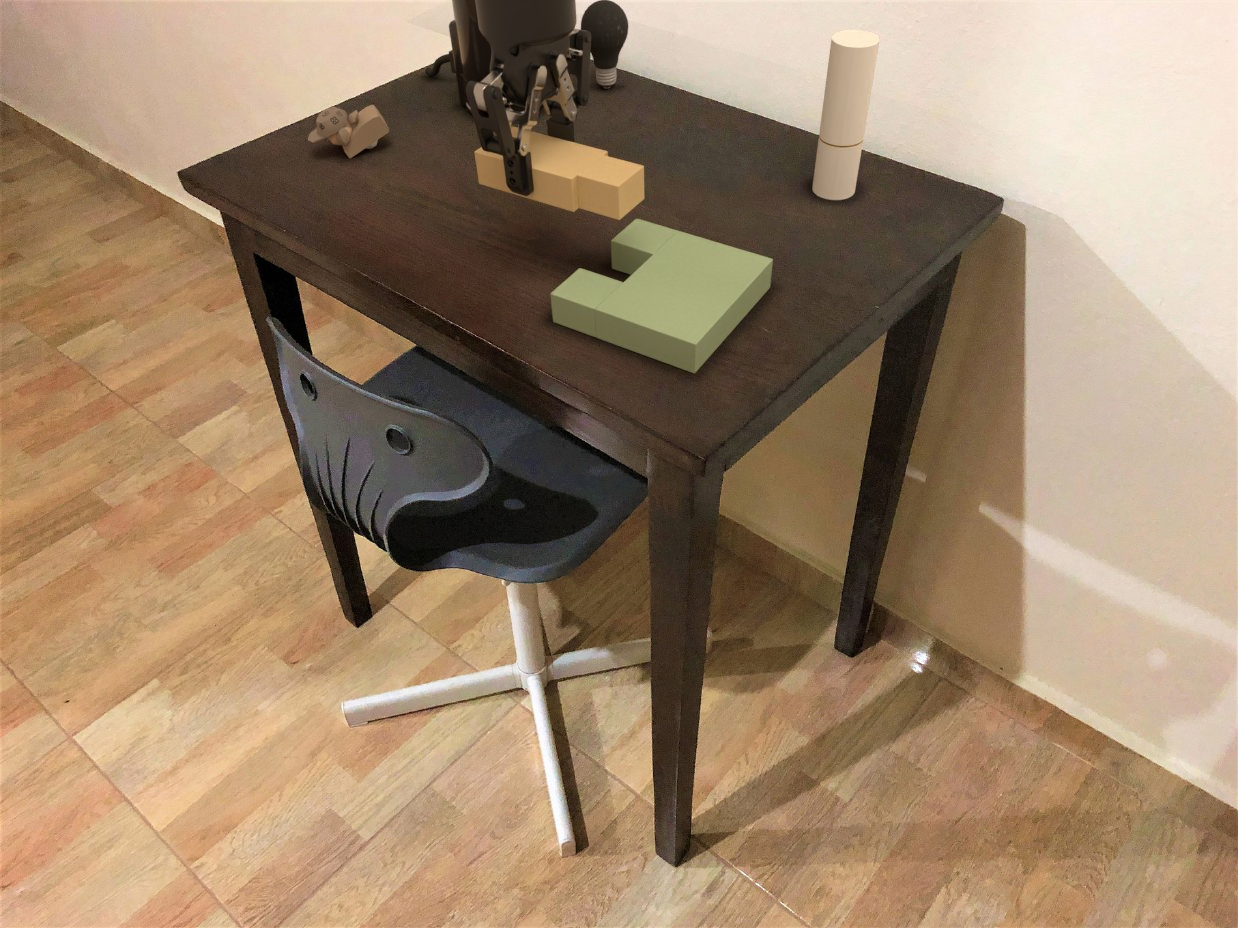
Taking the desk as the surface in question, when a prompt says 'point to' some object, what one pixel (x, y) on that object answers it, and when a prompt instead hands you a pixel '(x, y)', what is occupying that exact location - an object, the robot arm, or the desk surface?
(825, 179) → the tube
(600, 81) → the light bulb
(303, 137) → the desk surface
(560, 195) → the loose pad
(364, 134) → the toy character
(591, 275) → the base pad
